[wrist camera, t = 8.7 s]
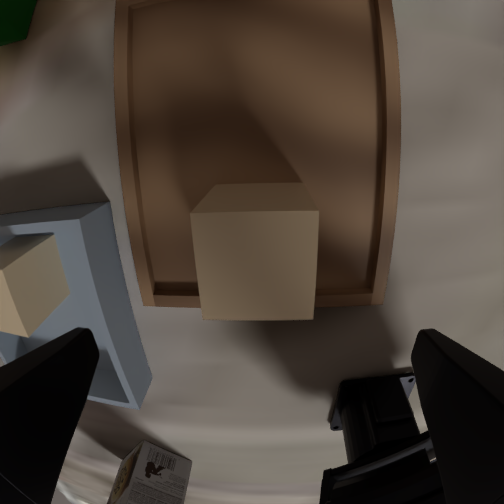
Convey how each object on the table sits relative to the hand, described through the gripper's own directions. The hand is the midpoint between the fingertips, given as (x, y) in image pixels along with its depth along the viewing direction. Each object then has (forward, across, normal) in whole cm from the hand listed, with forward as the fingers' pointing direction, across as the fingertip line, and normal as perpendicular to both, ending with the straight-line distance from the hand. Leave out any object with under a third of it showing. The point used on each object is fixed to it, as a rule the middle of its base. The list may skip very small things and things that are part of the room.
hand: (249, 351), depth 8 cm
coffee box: (+11, +13, +28) cm, 33 cm away
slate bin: (+10, +16, +5) cm, 20 cm away
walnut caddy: (+10, 0, -5) cm, 11 cm away
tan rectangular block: (+10, +16, +2) cm, 19 cm away
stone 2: (+10, 0, 0) cm, 10 cm away
